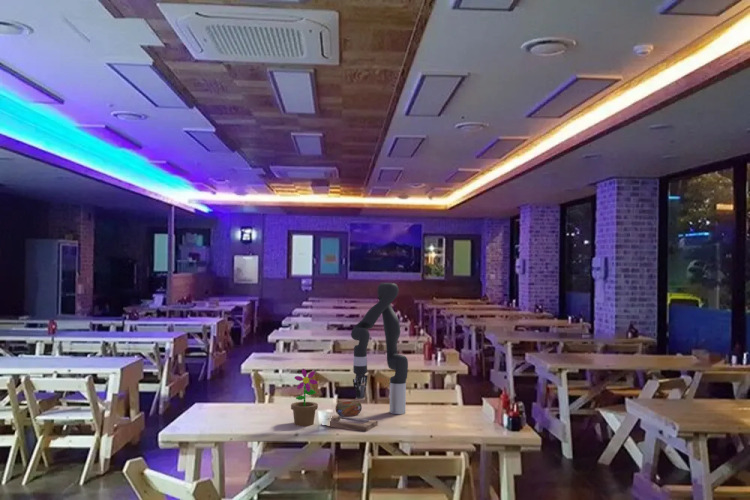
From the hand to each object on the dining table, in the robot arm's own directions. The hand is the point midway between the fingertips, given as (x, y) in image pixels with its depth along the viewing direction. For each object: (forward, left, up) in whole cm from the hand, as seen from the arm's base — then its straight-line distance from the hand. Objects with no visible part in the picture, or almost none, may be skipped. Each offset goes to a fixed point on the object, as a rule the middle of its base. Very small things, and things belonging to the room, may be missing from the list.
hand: (360, 395), depth 358 cm
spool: (0, 0, -2) cm, 2 cm away
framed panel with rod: (+12, 0, -13) cm, 18 cm away
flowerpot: (+20, -23, -14) cm, 34 cm away
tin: (-8, -11, -14) cm, 19 cm away
